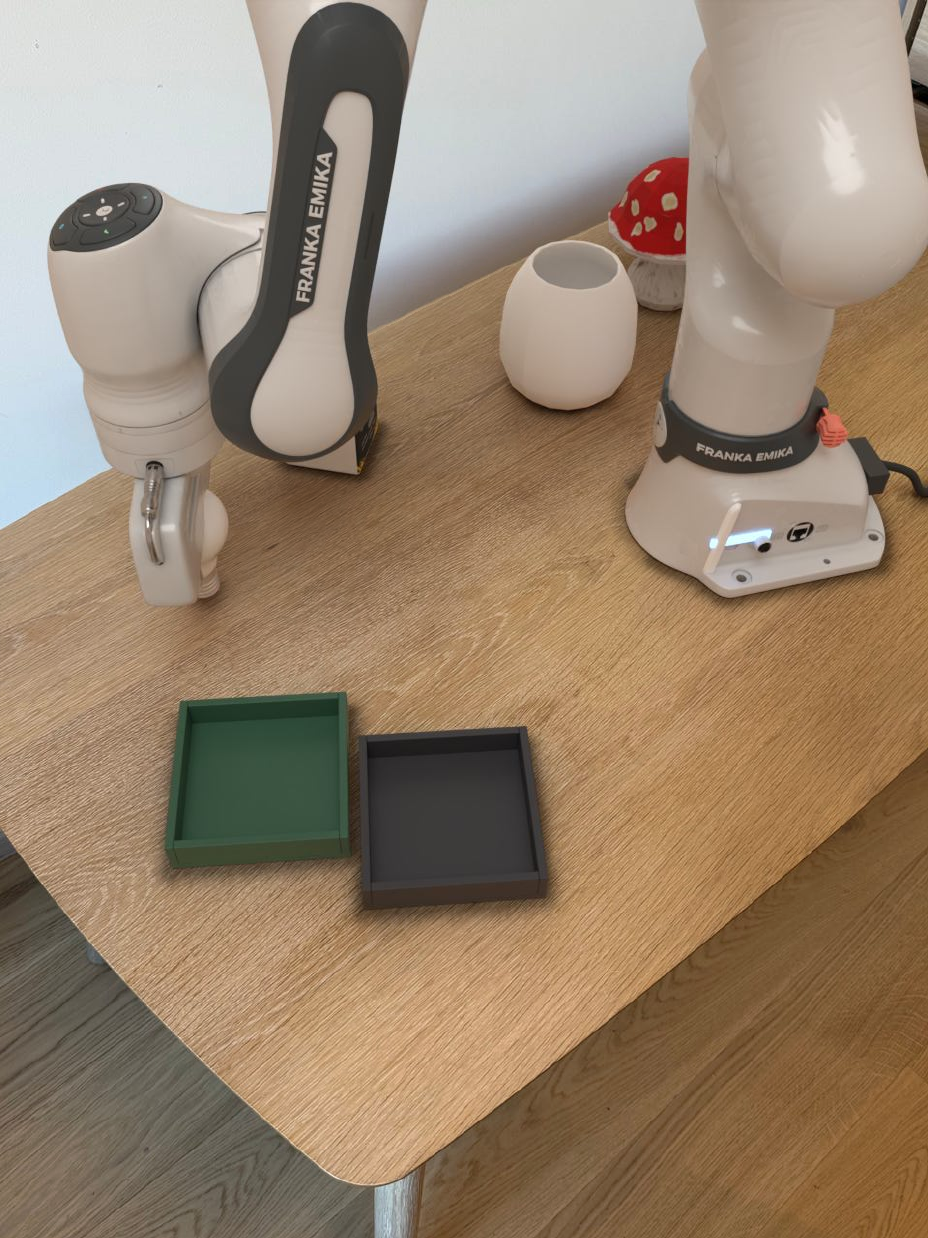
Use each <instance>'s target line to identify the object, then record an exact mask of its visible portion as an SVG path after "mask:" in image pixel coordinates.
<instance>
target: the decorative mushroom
mask: <svg viewBox="0 0 928 1238" xmlns="http://www.w3.org/2000/svg"><path fill="white" fill-rule="evenodd" d="M688 175H689V157H685V156H683V157H682V156H681V157H679V156H670V157H667V158H663V159H659V160H657V161H654V162H652V163H650V164H649V165H648V166H646V167H645V168H644V169H643V170H642V171H640V173H638V174H637V175H636V176H635V177H634V178H633V179H632V180H631V181H630V182H629V183H628V185H627V187H626V189H625V192H624V194H623V196H622V198H621V200H620V201H618V203H616V205H615V206H614V207H613V208H612V209H611V210H609V212H608V213H607V219H608V220H607V221H608V232H609V237H610V238H611V239H612V240H613V241H614V242H615V243H616V244H617V245H619V246H620V248H622V249H623V250H624V251H625V252H626V253H627V254H629V255H631V256H634V257H635V258H634V259H633V261H632V262H631V263H630V265H629V268H628V269H627V272H626V273H627V275H628V277H629V279H630V281H631V283H632V285H633V289H634V293H635V297H636V301H637V303H638V304H639V305H640V306H642V307H645V308H648V309H651V310H653V311H657V312H658V311H660V312H661V311H662V312H673V311H676V310H679V309H682V308H683V301H684V291H685V279H686V219H687V193H688Z"/></svg>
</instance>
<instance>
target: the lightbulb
mask: <svg viewBox="0 0 928 1238" xmlns="http://www.w3.org/2000/svg"><path fill="white" fill-rule="evenodd" d="M204 521H205V527H204V539H203V549H202V559H201V570H202V574H203V584H202V591H201V592H200V593H198V598H197V599H207V598H210V597H212V596H214V595H215V594H216V593H218V592H219V589H220V587H221V581H220V577H219V574H218V570H217V564H218V560H219V559H218V557H219V553H220V552H221V550H222V549H223V547H224V545H225V544H226V541H227V539H228V535H229V529H230V521H229V514H228V512H227V509H226V506H225V505H224V503H223V502H222V500H221V499H220V498H219V497H218V495H216V493H214V492H213V491H212V490H210V489H207V490H206V492H205V498H204Z"/></svg>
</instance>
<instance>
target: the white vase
mask: <svg viewBox="0 0 928 1238" xmlns="http://www.w3.org/2000/svg"><path fill="white" fill-rule="evenodd" d="M627 273H628V272H627V270H626V268H625V266H624V264H623V263H622V260H621V259H620V258H619V256H618V255H617V254H616V253H614V252H613V251H611V250H610V249H608V248H606V247H605V246H603V245H599V244H596V243H594V242H590V241H587V240H585V241H584V240H576V239H575V240H573V239H566V240H559V241H551V242H549V243H546V244H545V245H542V246H539V247H537V248H536V249H535V250H534V251H533V252H532V253H531V254H530V255H529V256H528V257H527V259H526V260H525V261H524V263H523V264H522V265H521V267H520V268H519V269H518V271H517V272H516V273H515V275H514V277H513V280H512V281H511V283H510V285H509V287H508V289H507V291H506V295H505V300H504V304H503V311H502V316H501V322H500V327H499V350H498V351H499V352H498V355H499V358H500V360H501V363H502V365H503V368H504V371H505V373H506V375H507V377H508V380H509V382H510V384H511V386H512V388H514V389H515V390H517V391H518V392H519V393H520V394H522V396H524V397H525V398H526V399H528V400H529V401H531V402H532V403H535V404H538V405H540V406H543V407H546V408H548V409H553V410H554V409H555V410H562V411H563V410H564V411H572V410H578V409H585V408H588V407H591V406H594V405H595V404H598V403H600V402H602V401H605V400H606V399H608V398H611V397H612V396H613V394H614V393H615V392H616V391H617V390H618V388H619V387H620V386H621V384H622V383H623V382H624V380H625V378H626V377H627V376H628V374H629V372H630V371H631V369H632V366H633V360H634V356H635V350H636V345H637V329H638V327H637V326H638V309H639V308H638V306H639V303H638V302H637V301H636V297H635V293H634V289H633V285H632V283H631V281H630V279H629V277H628V275H627Z"/></svg>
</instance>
